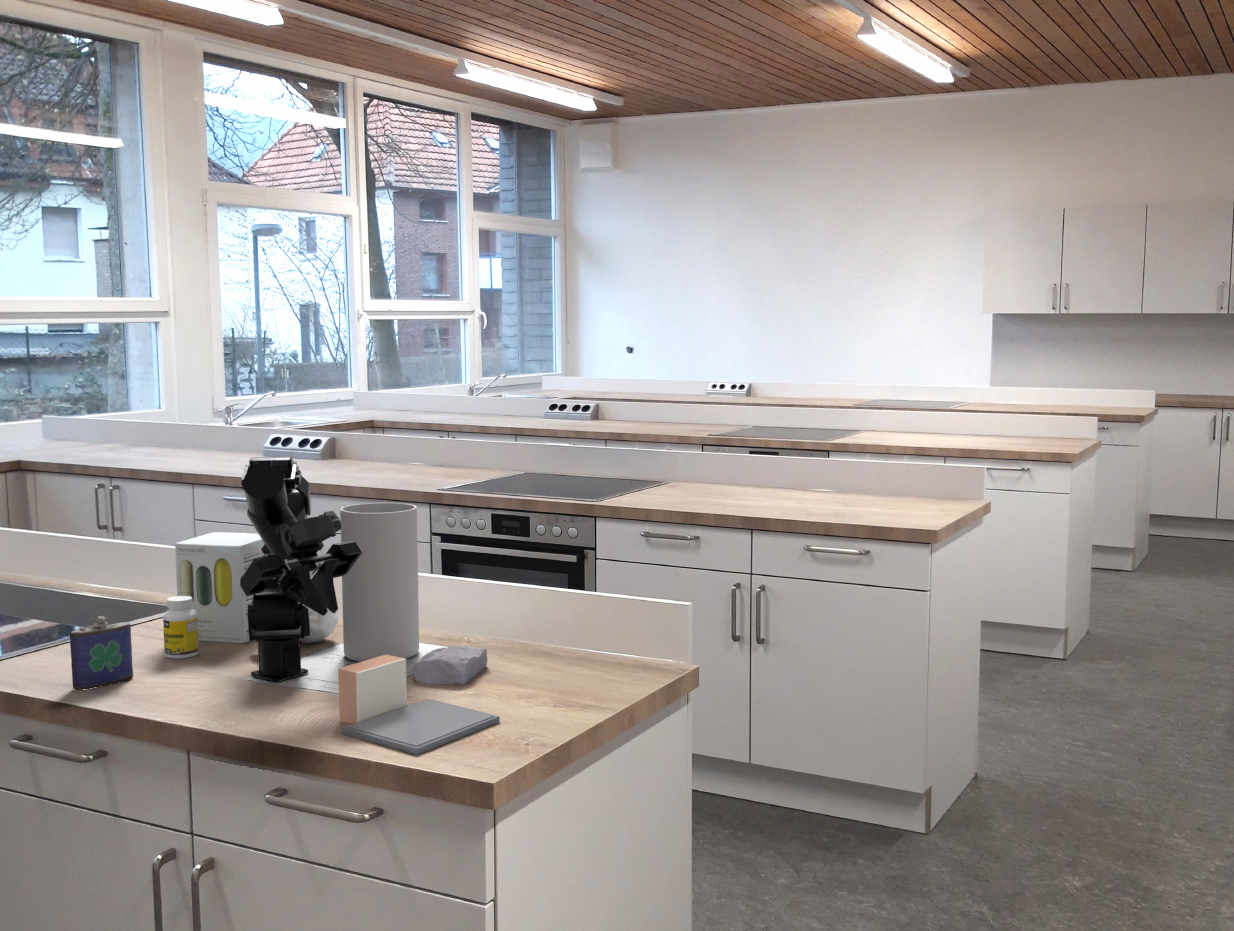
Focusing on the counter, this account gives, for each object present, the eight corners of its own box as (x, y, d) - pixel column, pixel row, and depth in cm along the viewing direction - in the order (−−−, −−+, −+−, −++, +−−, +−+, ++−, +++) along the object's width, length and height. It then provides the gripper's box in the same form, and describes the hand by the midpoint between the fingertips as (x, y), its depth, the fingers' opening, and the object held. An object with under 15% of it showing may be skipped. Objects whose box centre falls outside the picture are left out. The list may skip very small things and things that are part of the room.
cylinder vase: (378, 641, 206) (375, 500, 203) (434, 650, 200) (432, 506, 197) (327, 657, 195) (324, 509, 193) (384, 668, 189) (381, 515, 186)
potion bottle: (339, 643, 210) (276, 672, 198) (304, 608, 213) (240, 634, 201) (357, 607, 206) (294, 635, 193) (321, 571, 209) (256, 596, 196)
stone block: (409, 694, 181) (469, 685, 179) (403, 664, 181) (463, 655, 179) (436, 676, 193) (493, 667, 191) (430, 647, 193) (487, 638, 191)
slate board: (342, 733, 158) (342, 726, 157) (427, 703, 170) (427, 697, 170) (416, 754, 149) (416, 748, 149) (499, 722, 162) (499, 715, 162)
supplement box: (176, 640, 207) (172, 542, 205) (217, 623, 220) (214, 531, 218) (244, 644, 204) (241, 545, 202) (281, 626, 217) (279, 533, 215)
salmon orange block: (339, 720, 163) (338, 668, 162) (387, 704, 170) (386, 654, 170) (359, 726, 161) (358, 673, 160) (406, 709, 168) (405, 658, 167)
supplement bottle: (157, 657, 195) (155, 599, 194) (180, 649, 200) (178, 593, 199) (183, 660, 193) (180, 602, 192) (205, 652, 198) (203, 596, 197)
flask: (129, 676, 185) (126, 609, 183) (137, 679, 183) (134, 612, 181) (69, 688, 178) (66, 620, 177) (77, 692, 176) (74, 623, 175)
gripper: (249, 502, 163) (303, 589, 158) (352, 488, 178) (404, 568, 173) (217, 551, 168) (268, 638, 163) (319, 534, 183) (369, 613, 178)
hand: (330, 612), depth 169 cm, fingers closed
